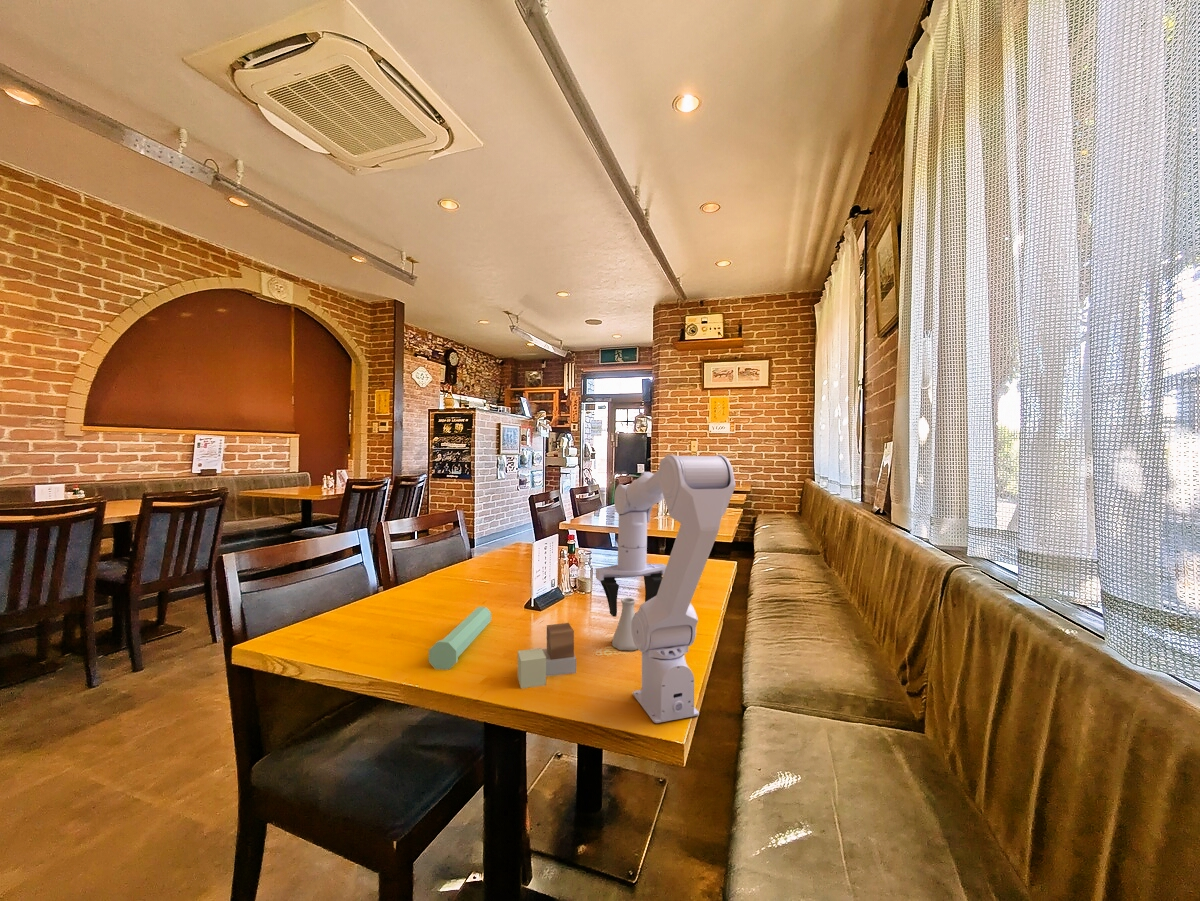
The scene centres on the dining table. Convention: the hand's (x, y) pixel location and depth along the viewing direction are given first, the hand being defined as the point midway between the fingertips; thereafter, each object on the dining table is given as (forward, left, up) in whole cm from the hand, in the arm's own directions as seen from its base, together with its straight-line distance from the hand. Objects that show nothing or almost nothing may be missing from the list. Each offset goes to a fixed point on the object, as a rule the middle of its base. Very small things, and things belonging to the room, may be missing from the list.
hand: (631, 612), depth 93 cm
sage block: (-1, +20, -11) cm, 23 cm away
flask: (+9, -3, -11) cm, 15 cm away
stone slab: (+3, +14, -11) cm, 18 cm away
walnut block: (+3, +14, -8) cm, 16 cm away
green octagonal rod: (+21, +31, -11) cm, 39 cm away
